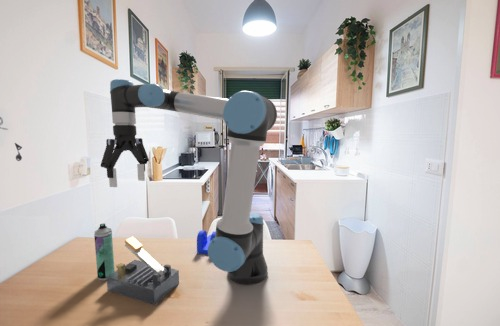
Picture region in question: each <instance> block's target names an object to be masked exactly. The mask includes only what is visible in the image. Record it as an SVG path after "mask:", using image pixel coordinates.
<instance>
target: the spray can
mask: <svg viewBox="0 0 500 326" xmlns="http://www.w3.org/2000/svg"><path fill="white" fill-rule="evenodd" d="M93 235H94V246H95V247H94V248H95V260H96V261H95V262H96V274H97V280H98V279H99V280H98V281H107V276H109V275H110V274H112V273H114V272H115V271H116V270H115V261H114V259H115V258H114V256H115V255H114V245H113V243H114V242H113V231H112V228H110V227H108V226H106V223H100V224H99V227H98V228H97V229H96V230H95V231H94V234H93Z"/></svg>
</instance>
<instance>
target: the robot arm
mask: <svg viewBox="0 0 500 326" xmlns="http://www.w3.org/2000/svg"><path fill="white" fill-rule="evenodd" d="M109 90H110V91H109V94H110V103H111V118H112V124H114V125H113V126H112V132H113V136H114V138H107V139H106V140H105V141H106V145H105V149H104V153H103V155H102V156H103V157H102V160H101V162H100V167H101V168H104V169H106V176H107V178H108V183H109V187H110V188H117V187H118V180H117V179H118V177H117V168H114V167H115V166H116V164H117V163H118V160H119V158H120V157H121V155H122V153H124V152H125V151H126V152H127V151H129V152H130V153H131V154H132V155H133V157H134V158H135V159H136V161H137V165H136V166H137V167H136V168H137V180H138V181H142V182H143V181H146V178H145V173H146V165H147V164H148V162H149V161H150V159H149V155H148V154H147V151H146V150H145V149H146V148H145V146H144V142H143V138H141V137H139V138H138V137H137V138H136V136H137V126H136V124H137V121H136V120H137V119H136V117H137V116H136V108H150V109H157V110H159V109H160V110H164V111H171V112H177V113H178V112H179V113H183V114H189V115H193V116H198V117H205V118H210V119H216V120H221V121H224V123H225V125H226V127H227V133H226V134H227V135H226V138H227V139H228V140H229V142H230V152H229V161H228V167H227V175H226V186H225V192H224V193H225V194H224V201H223V202H224V203H223V208H222V218H220V219H219V220H217V221H216V226H215V227H216V228H215V232H216V233H215V238H213V239H212V240H211V242H210V243H209V245H208V254H207V255H208V258H209V261H210V262H212V263H213V266H215V267H216V269H219V270H221V271H223V272H225V273H227V277H228V278H229V279H230V280H231V281H233V282H235V283H237V284H240V285H241V284H242V285H254V284H258V283H261V282H263V281H264V280H266V278H267V276H268V265H267V261H266V259H265V256H264V218H263V216H262V214H260V213H256V212H252V206H253V205H252V204H253V196H254V190H255V183H256V176H257V169H258V162H259V156H260V155H259V154H260V147H262V146H263V145H264V144H265V143H266V141H267V136H268V131H270V130H271V129H273V127H274V126H275V124H276V122H277V120H278V119H277V118H278V112H277V107H276V105H275V104H274V102H273V101H272V100H270V98H269V99H268V97H265V96H263V95H261V94H259V93H258V92H256V91H252V90H251V91H249V90H241V91H237V92H235V93H234V94H232V95H231V96H230V97H229V98H224V97H223V98H222V97H215V96H208V95H204V94H203V95H202V94H194V93H189V92H181V91H176V90H175V91H174V90H169V89H165V88H163V87H161V86H160V85H159V84H157V83H150V82H148V83H143V84H134V82H133V81H131V80H128V79H123V78H122V79H119V78H118V79H113V80H111V81H110V84H109Z"/></svg>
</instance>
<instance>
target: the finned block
mask: <svg viewBox="0 0 500 326" xmlns="http://www.w3.org/2000/svg"><path fill="white" fill-rule="evenodd" d="M159 264H160V263H159ZM160 265H161V266H163V267H164V268H166V269H167V273H165V274H164V275H163V276H161V277H160V274H158V273H154V272H153V271H152V270H151V269H150V268H149V267H148V266H147V265H145V264H144V263H143V262H142V261H141V260H138V259H134V260H132V261H131V262H129V263H127V264H125V263H121V262H120V263H118V264H116V265H115V267H116V269H117V270H115V272H114V273H112V274H110V275H109V276H107V280H106V287H107V292H111V293H114V294H117V295H120V296H124V297H126V298H130V299H134V300H136V301H139V302H142V303H145V304H149V305H152V306H156V305H157V304H158V303H159V302H160V301H161V300H163V299H164V298H165V297H166V296H167V295H168V294H169V293H170V292H171V291H173V290H174V289H175V288H176V287H177V286H179V284H180V275H179V274H180V272H179V269H175V268H172V265H170V264H164V265H163V264H160Z"/></svg>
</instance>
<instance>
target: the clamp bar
mask: <svg viewBox="0 0 500 326" xmlns="http://www.w3.org/2000/svg"><path fill="white" fill-rule="evenodd" d="M124 243H125V244H124V247H126V248H127V250H129V251H130V252H131V253H132V254H133V255H134V256H135V257H137V259H139V261H142V262H143V263H144V264H145V265H147V266H148V267H149V268H150V269H151V270H152V271H153V272H154V273H158V274H160V277H161V276H163V275H164V274H165V273H167V269H166V268H164V265H162V266H161V265H160V263H159V262H158V261H157V260H156V259H155V258H154V257H153V256H151V255H150V254H149V253H148V252H147V251H146V250H145V249H144V248H143V244H142V243H141V242H139V240H138V239H136V238H135V237H134V236H130V237H129V238H127V239H125V240H124Z"/></svg>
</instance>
